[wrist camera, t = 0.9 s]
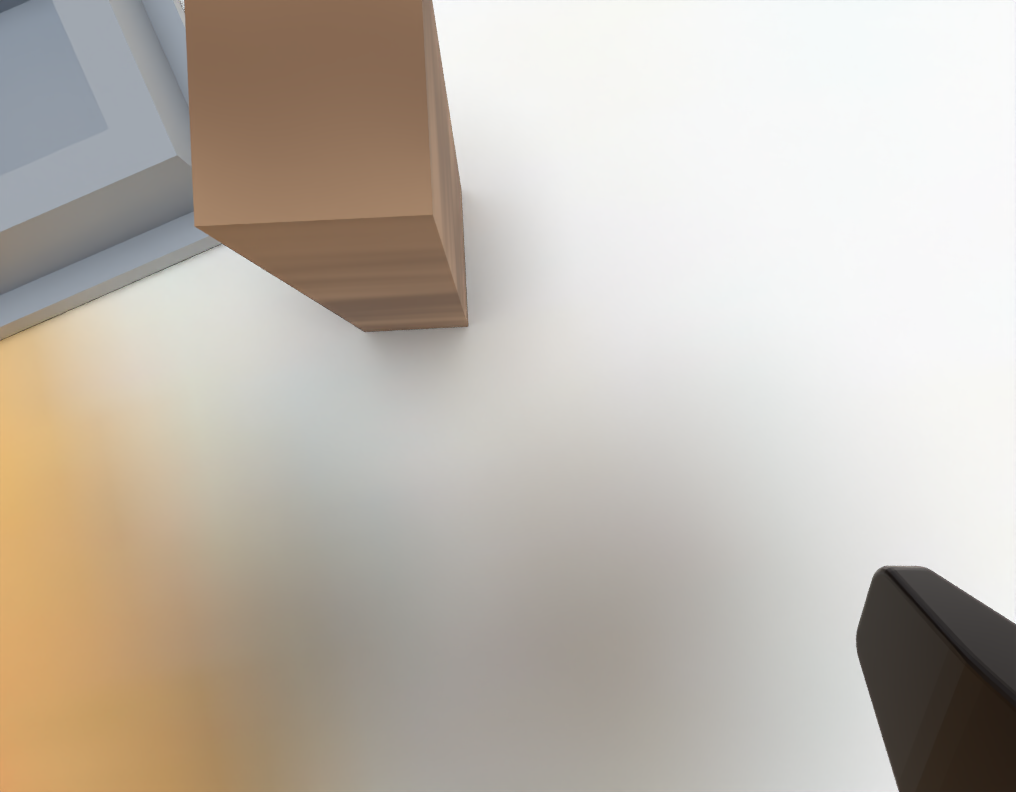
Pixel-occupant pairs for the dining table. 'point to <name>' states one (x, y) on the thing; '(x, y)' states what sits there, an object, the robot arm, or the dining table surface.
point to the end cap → (91, 152)
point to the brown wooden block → (330, 153)
